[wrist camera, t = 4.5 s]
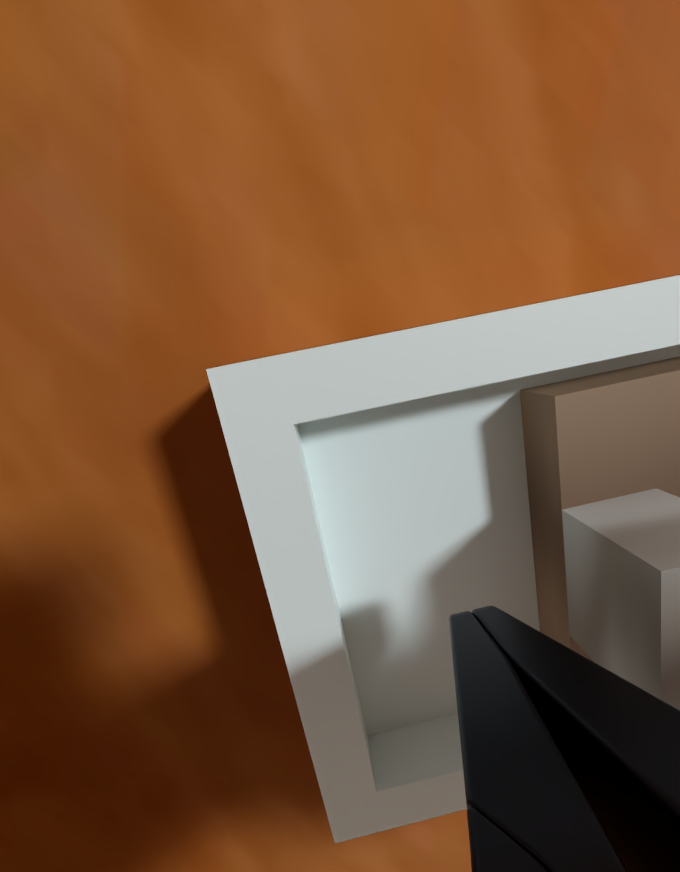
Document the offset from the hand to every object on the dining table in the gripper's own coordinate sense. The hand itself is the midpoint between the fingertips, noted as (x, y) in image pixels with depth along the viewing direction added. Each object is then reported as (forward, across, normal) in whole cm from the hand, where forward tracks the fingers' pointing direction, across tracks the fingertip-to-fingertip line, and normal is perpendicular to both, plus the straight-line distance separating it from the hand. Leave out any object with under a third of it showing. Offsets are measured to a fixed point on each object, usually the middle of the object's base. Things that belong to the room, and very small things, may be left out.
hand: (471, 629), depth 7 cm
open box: (+4, -5, 0) cm, 6 cm away
